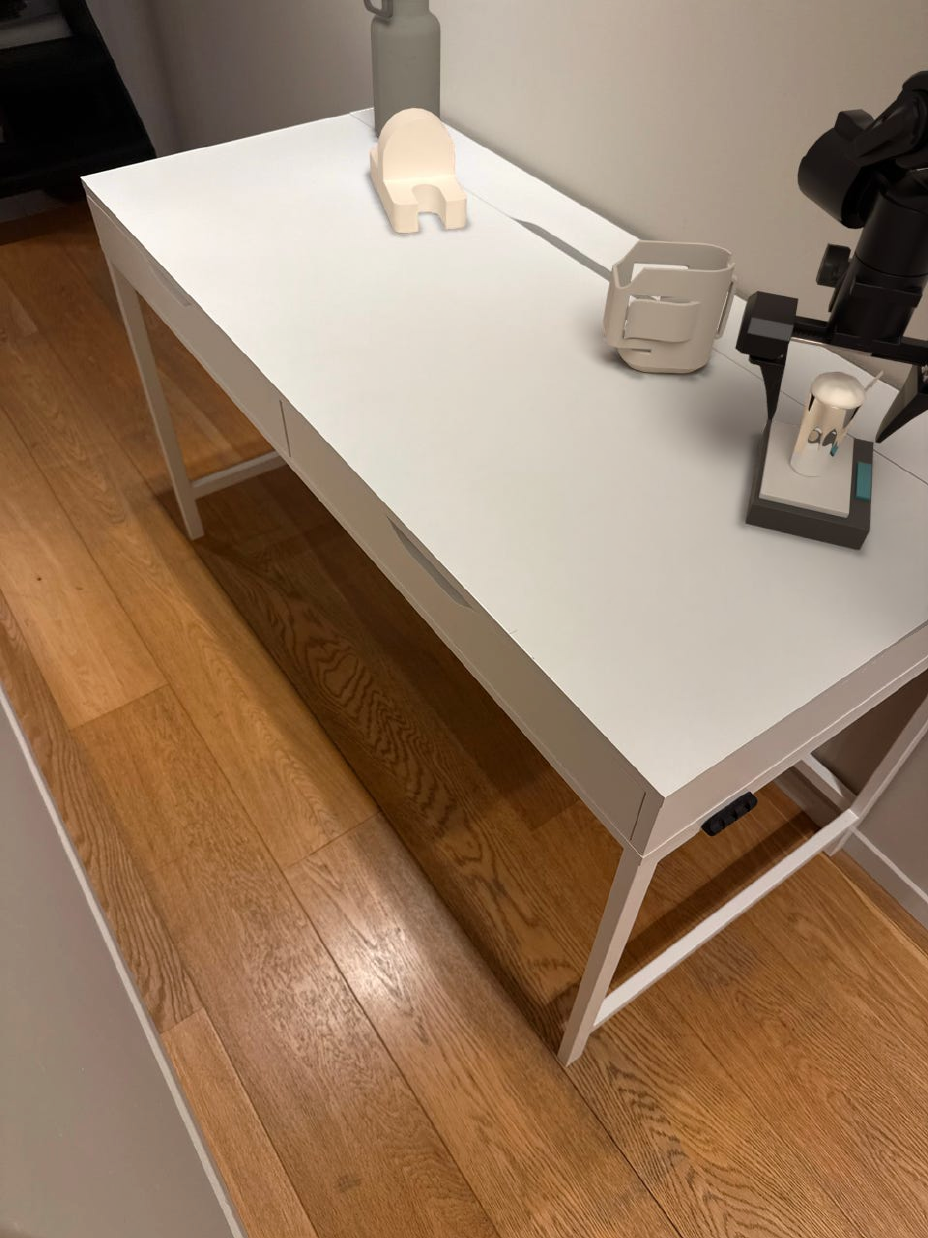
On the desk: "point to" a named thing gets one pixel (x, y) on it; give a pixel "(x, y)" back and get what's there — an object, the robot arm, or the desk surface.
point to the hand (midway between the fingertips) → (823, 428)
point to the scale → (812, 490)
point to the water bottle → (404, 58)
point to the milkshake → (827, 420)
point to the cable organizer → (669, 305)
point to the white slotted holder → (417, 171)
